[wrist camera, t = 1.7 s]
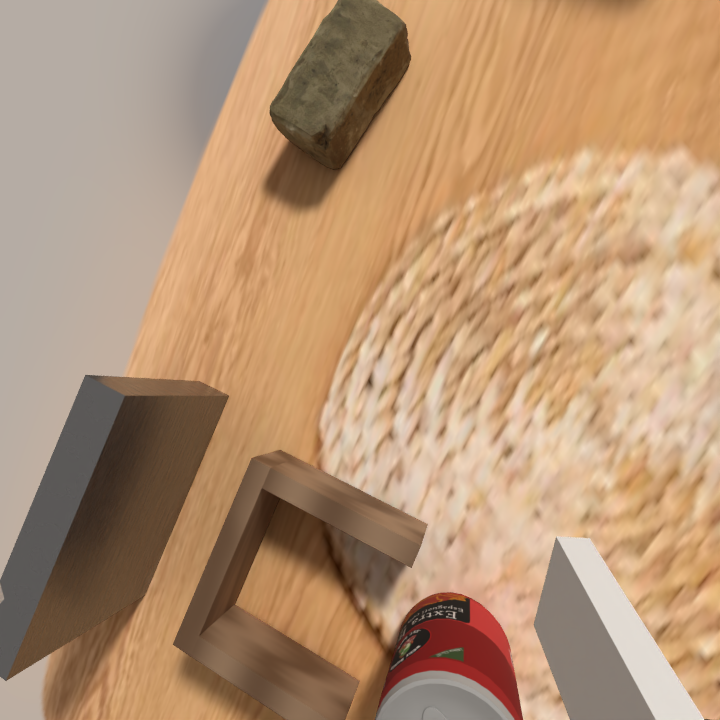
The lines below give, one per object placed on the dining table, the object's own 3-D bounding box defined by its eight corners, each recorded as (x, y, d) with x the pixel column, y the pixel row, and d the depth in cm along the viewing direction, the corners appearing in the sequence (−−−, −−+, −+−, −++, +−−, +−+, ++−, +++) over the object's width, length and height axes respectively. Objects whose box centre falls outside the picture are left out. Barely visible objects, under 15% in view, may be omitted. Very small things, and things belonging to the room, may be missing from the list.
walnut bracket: (427, 524, 34) (421, 545, 29) (351, 699, 34) (332, 750, 29) (280, 449, 37) (251, 458, 32) (211, 611, 37) (172, 644, 32)
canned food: (459, 566, 33) (455, 646, 23) (536, 666, 32) (571, 802, 21) (377, 628, 34) (337, 732, 24) (449, 727, 33) (440, 888, 22)
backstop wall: (228, 395, 38) (124, 395, 27) (144, 595, 39) (5, 681, 27) (199, 381, 39) (85, 374, 27) (116, 577, 39) (-31, 653, 28)
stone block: (285, 147, 39) (259, 111, 34) (360, 28, 39) (345, -26, 34) (340, 179, 38) (322, 147, 33) (419, 56, 37) (412, 4, 32)
